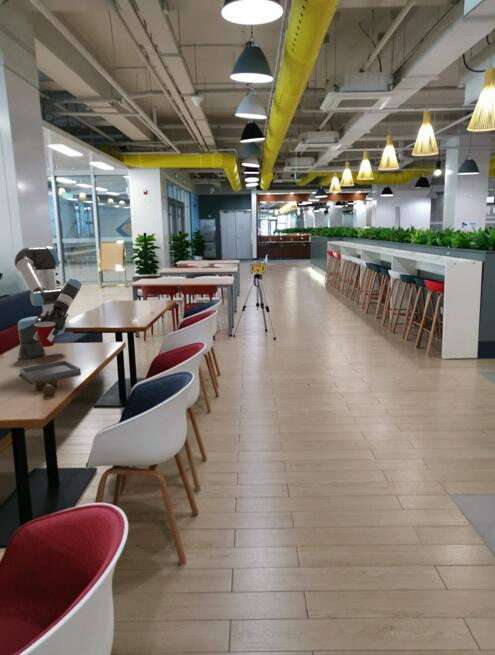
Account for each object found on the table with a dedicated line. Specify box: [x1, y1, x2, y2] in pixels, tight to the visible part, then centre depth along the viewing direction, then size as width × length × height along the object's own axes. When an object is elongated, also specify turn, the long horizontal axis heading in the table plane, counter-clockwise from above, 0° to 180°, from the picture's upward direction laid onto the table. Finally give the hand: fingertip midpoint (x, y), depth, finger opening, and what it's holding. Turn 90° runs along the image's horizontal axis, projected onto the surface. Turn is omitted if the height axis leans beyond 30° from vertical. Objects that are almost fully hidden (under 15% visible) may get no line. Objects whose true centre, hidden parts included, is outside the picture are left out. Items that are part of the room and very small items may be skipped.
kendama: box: [34, 376, 58, 397], centre depth 232 cm, size 6×10×20 cm
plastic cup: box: [34, 322, 56, 348], centre depth 257 cm, size 11×11×12 cm
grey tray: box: [19, 359, 82, 385], centre depth 260 cm, size 24×24×3 cm
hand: (42, 339), depth 255 cm, fingers closed on plastic cup, 9 cm apart
